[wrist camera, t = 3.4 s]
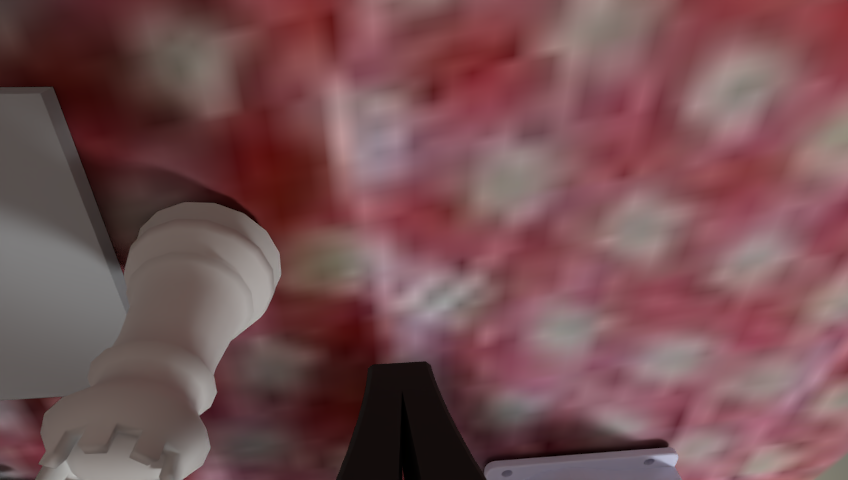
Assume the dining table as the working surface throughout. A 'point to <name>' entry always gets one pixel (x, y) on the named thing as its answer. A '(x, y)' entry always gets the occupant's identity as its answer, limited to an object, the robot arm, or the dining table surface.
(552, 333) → the dining table surface
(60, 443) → the rook chess piece
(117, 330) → the slate mat
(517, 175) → the dining table surface
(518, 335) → the dining table surface
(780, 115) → the dining table surface
